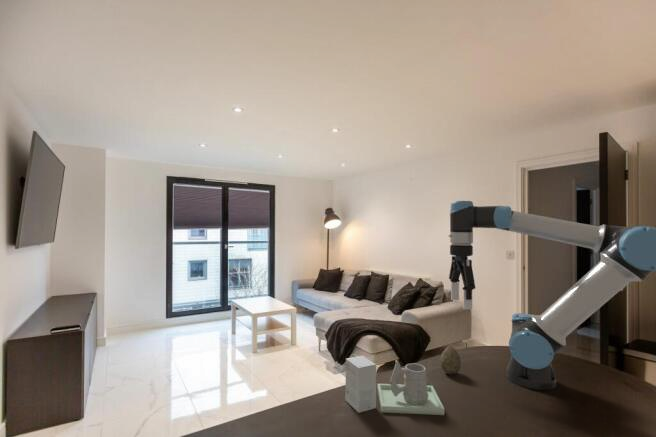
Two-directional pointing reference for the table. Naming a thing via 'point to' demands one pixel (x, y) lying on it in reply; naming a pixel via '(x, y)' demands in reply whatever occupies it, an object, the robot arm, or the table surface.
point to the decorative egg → (450, 361)
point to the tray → (401, 406)
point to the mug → (411, 383)
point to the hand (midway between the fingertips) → (460, 304)
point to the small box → (360, 383)
